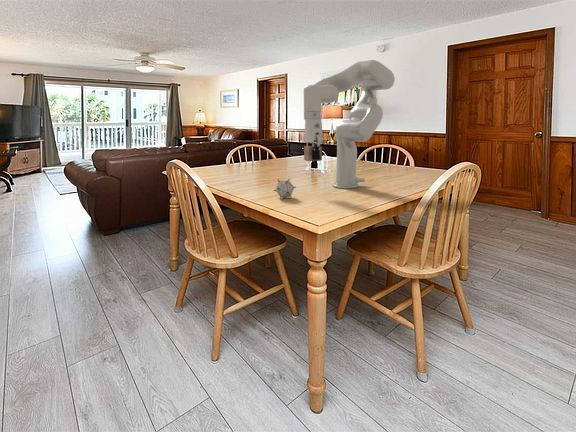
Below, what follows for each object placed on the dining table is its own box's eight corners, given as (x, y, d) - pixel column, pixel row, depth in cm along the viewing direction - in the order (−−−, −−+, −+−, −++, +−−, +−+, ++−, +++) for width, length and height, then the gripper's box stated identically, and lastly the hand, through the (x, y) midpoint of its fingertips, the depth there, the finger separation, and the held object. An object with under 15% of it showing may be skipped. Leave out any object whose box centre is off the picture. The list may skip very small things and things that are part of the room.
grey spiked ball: (288, 207, 153) (292, 191, 145) (269, 199, 154) (273, 183, 146) (295, 193, 159) (300, 177, 151) (277, 186, 159) (281, 170, 152)
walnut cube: (316, 158, 162) (316, 145, 160) (321, 160, 156) (321, 146, 155) (304, 159, 160) (304, 146, 159) (309, 161, 155) (308, 147, 153)
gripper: (329, 116, 146) (328, 160, 151) (313, 115, 162) (313, 155, 167) (311, 116, 144) (312, 161, 149) (297, 115, 160) (298, 156, 165)
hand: (313, 158), depth 158 cm, fingers closed on walnut cube, 6 cm apart
